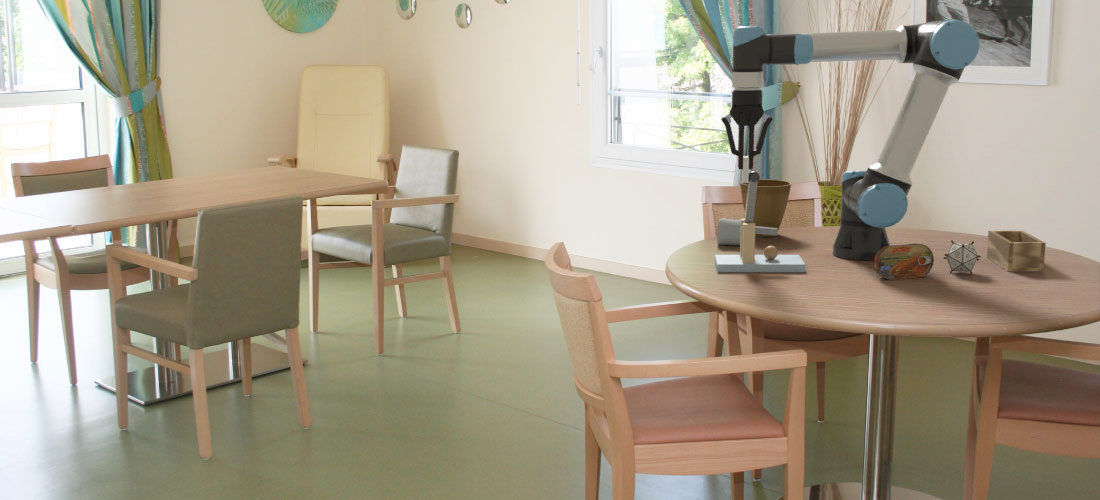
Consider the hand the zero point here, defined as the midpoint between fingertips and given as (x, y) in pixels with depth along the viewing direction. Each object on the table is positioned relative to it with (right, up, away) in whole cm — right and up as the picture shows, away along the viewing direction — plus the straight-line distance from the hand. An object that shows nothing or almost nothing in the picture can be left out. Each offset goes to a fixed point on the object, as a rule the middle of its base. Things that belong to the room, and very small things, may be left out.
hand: (745, 182), depth 264 cm
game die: (+52, -23, -7) cm, 58 cm away
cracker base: (+4, -22, +4) cm, 23 cm away
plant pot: (+15, -13, +47) cm, 51 cm away
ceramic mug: (+3, -16, +35) cm, 38 cm away
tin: (+37, -24, -11) cm, 45 cm away
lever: (+4, -14, +2) cm, 15 cm away
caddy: (+69, -21, +1) cm, 72 cm away
